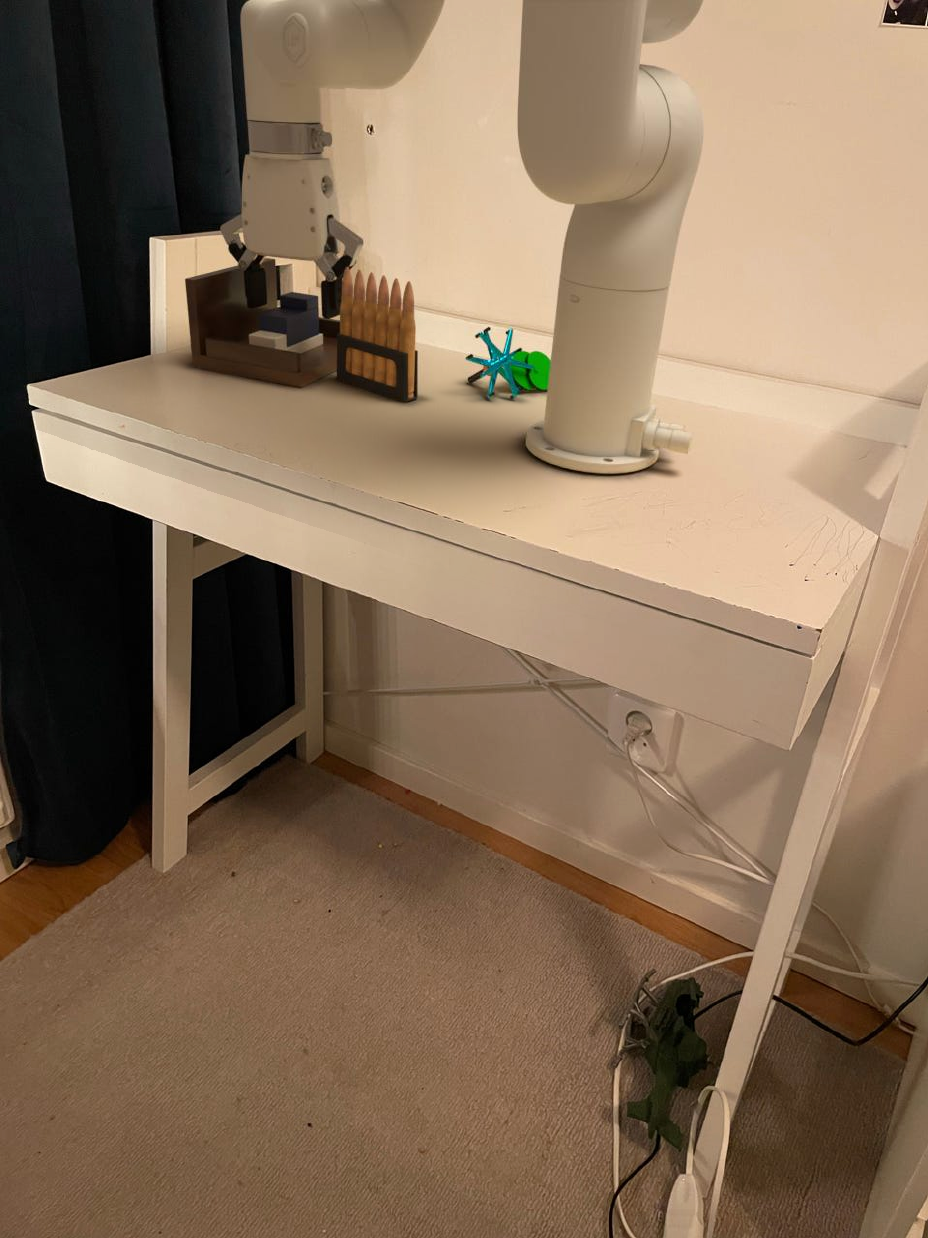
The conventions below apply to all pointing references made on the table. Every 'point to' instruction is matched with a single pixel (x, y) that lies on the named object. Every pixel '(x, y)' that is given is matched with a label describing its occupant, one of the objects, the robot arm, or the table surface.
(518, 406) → the table surface
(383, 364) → the ammunition clip
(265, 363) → the wooden book end
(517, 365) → the stick construction toy
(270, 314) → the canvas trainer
